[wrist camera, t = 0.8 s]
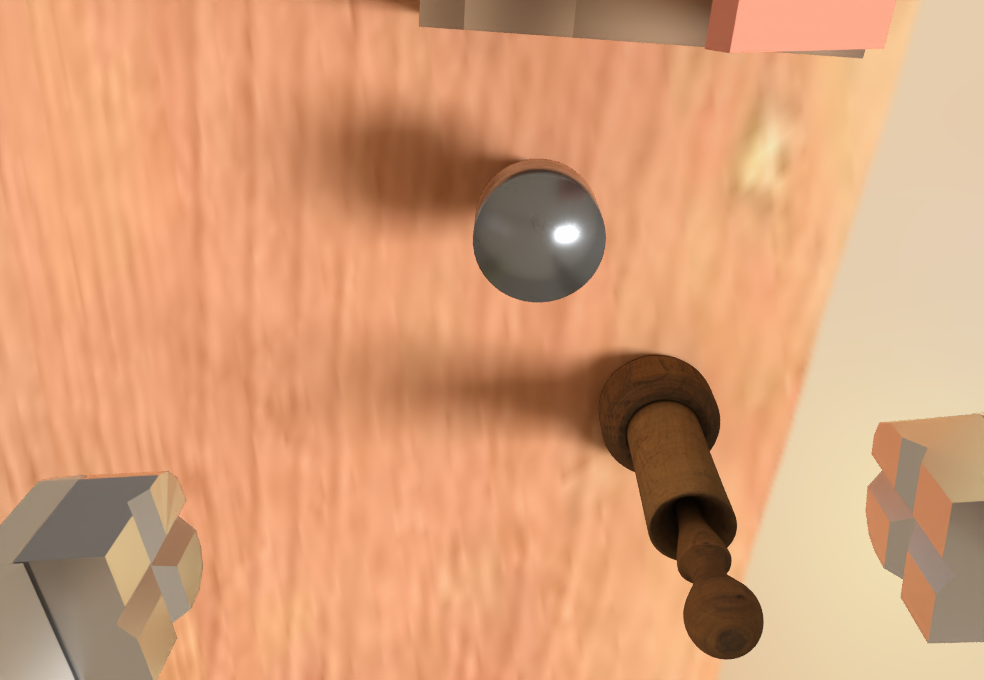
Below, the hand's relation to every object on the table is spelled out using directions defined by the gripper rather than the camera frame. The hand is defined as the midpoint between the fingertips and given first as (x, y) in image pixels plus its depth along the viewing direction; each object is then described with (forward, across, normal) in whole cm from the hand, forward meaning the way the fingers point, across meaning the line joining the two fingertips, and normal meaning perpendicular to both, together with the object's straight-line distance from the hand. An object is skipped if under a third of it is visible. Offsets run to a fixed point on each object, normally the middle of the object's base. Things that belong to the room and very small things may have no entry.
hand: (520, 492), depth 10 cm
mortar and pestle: (+33, -6, +19) cm, 39 cm away
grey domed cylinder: (+33, 0, +6) cm, 34 cm away
